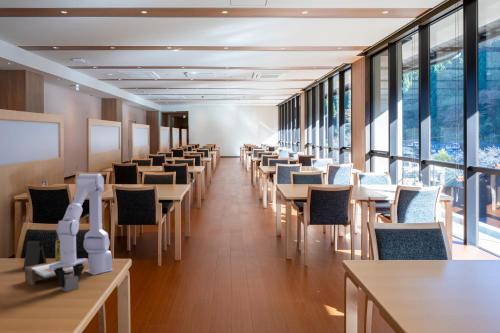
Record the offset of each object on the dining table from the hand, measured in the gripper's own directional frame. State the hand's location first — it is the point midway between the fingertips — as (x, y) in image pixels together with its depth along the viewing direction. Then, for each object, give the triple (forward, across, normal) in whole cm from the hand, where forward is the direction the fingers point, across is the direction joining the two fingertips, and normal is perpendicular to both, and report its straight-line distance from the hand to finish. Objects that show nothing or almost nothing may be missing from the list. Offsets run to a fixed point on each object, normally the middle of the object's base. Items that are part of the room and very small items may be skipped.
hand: (69, 285), depth 179 cm
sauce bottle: (+2, +15, +40) cm, 43 cm away
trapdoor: (-4, 0, +13) cm, 13 cm away
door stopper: (+2, +3, +42) cm, 42 cm away
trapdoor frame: (+1, 0, +19) cm, 19 cm away
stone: (+1, 0, 0) cm, 1 cm away
